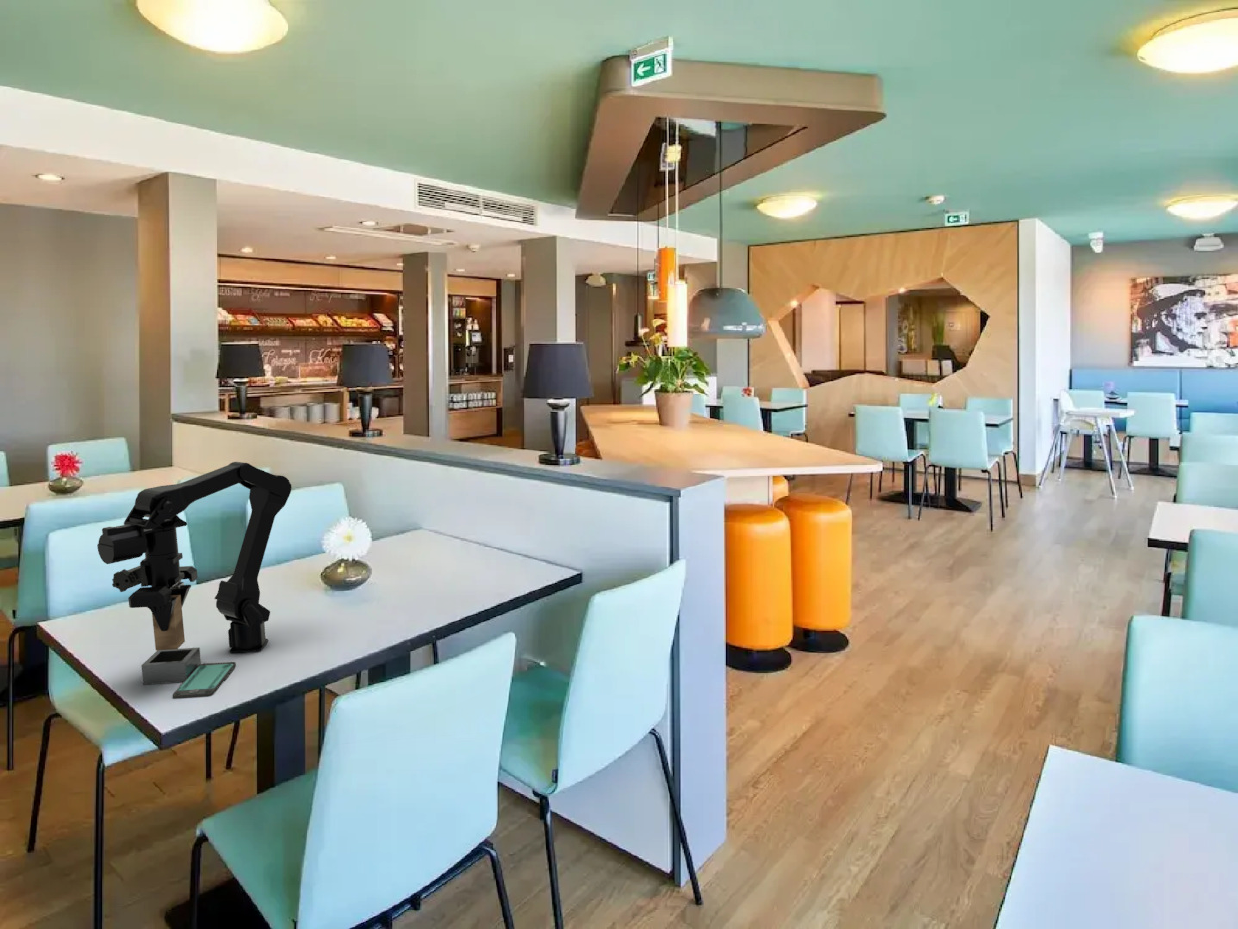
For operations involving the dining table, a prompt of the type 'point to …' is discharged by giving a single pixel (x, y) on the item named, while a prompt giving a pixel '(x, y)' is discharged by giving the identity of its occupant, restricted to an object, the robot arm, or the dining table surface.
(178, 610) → the rail post
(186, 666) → the gray open box
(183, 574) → the robot arm
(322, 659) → the dining table surface
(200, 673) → the smartphone
